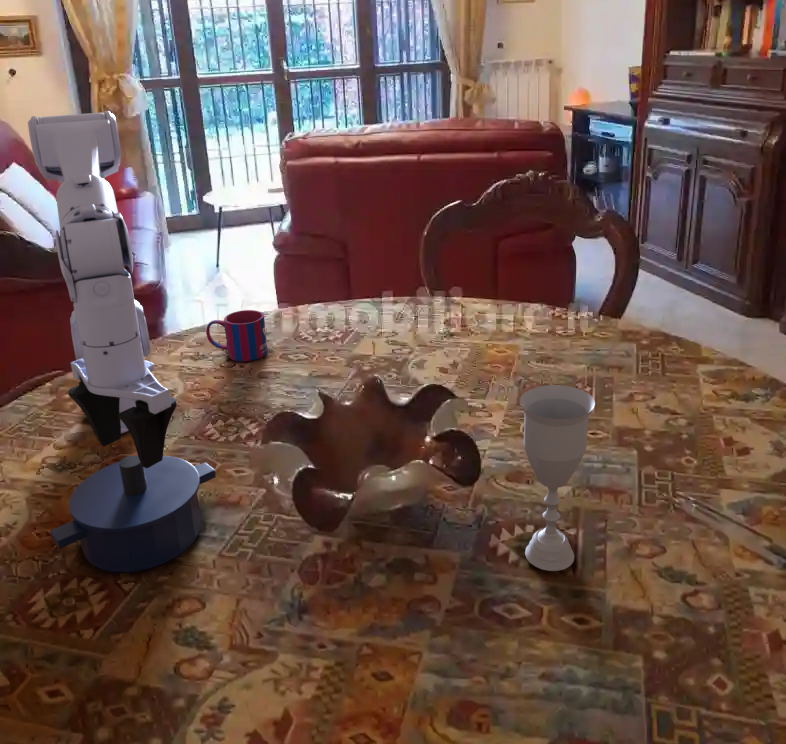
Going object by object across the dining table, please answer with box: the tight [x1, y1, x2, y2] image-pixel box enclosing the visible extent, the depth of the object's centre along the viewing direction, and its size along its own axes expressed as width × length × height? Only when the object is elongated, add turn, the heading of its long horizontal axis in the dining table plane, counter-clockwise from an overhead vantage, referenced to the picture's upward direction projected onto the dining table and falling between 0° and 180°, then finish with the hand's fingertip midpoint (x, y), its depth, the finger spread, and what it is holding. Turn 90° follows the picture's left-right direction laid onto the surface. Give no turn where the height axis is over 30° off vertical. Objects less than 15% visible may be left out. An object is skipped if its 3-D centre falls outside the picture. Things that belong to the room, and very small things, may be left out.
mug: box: [205, 309, 268, 362], centre depth 128 cm, size 7×10×7 cm
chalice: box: [519, 384, 596, 572], centre depth 75 cm, size 7×7×18 cm
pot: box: [49, 462, 217, 573], centre depth 83 cm, size 13×18×5 cm
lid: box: [68, 455, 201, 532], centre depth 81 cm, size 14×14×5 cm
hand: (131, 452), depth 81 cm, fingers open, 7 cm apart
